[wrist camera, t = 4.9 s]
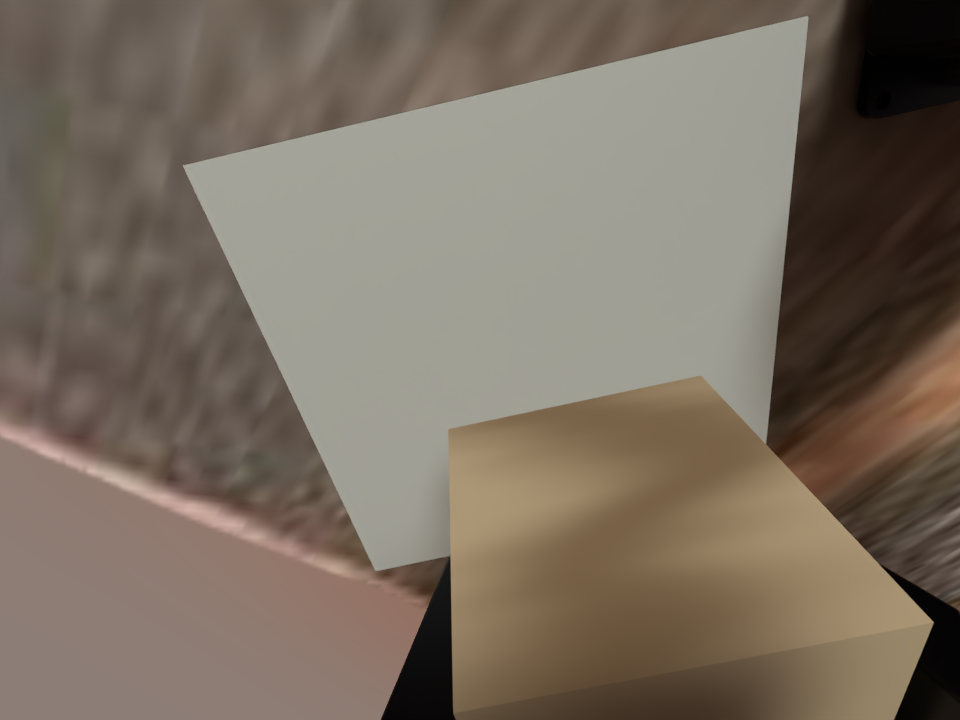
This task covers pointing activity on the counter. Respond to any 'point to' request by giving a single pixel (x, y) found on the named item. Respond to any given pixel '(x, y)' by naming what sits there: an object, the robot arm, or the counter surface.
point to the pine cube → (660, 573)
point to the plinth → (517, 259)
